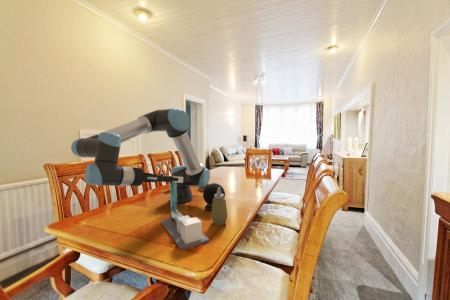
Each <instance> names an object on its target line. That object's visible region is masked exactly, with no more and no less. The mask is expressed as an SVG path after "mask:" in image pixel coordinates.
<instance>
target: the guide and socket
mask: <svg viewBox="0 0 450 300" xmlns="http://www.w3.org/2000/svg"><path fill="white" fill-rule="evenodd" d="M182 215H183V214H182ZM160 223H161V224H162V226H163V227H164V228H165V230H166V231H167V233H168V235H170V237H171V239H172V240H173V241H174V243H175V244H176V245H177V247H178V248H179V249H180V251H182V250H186V249H189V248H193V247H196V246H200V245H202V244H206V243H209V242H210V238H209V237H208V236H207V235H205V234H204V233H203V227H202V226H203V225H202V224H203V223H202V220H201V219H199V218H198V217H197V216H194V217H190V215H188V214H187V215H183V216H182V217H178V218H177V222H176V221H175V220H171V217H170V218H165V219H162V220H160Z"/></svg>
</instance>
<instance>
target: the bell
mask: <svg viewBox="0 0 450 300" xmlns="http://www.w3.org/2000/svg"><path fill="white" fill-rule="evenodd" d="M209 184H210V183H208V184H207V185H206V186H208V185H209ZM206 186H205V187H206ZM205 187H197V190H198V192H203V191H204V189H205Z"/></svg>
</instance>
